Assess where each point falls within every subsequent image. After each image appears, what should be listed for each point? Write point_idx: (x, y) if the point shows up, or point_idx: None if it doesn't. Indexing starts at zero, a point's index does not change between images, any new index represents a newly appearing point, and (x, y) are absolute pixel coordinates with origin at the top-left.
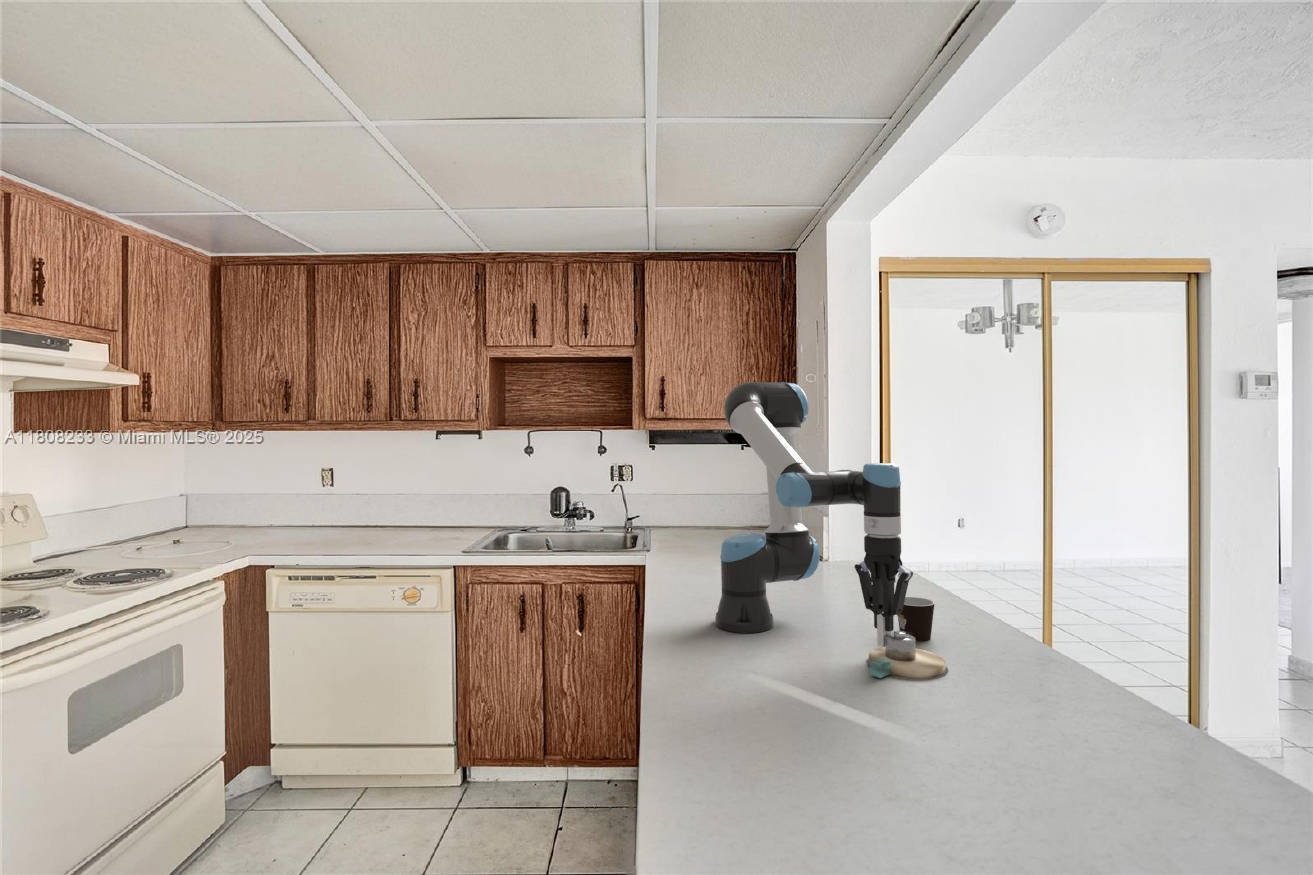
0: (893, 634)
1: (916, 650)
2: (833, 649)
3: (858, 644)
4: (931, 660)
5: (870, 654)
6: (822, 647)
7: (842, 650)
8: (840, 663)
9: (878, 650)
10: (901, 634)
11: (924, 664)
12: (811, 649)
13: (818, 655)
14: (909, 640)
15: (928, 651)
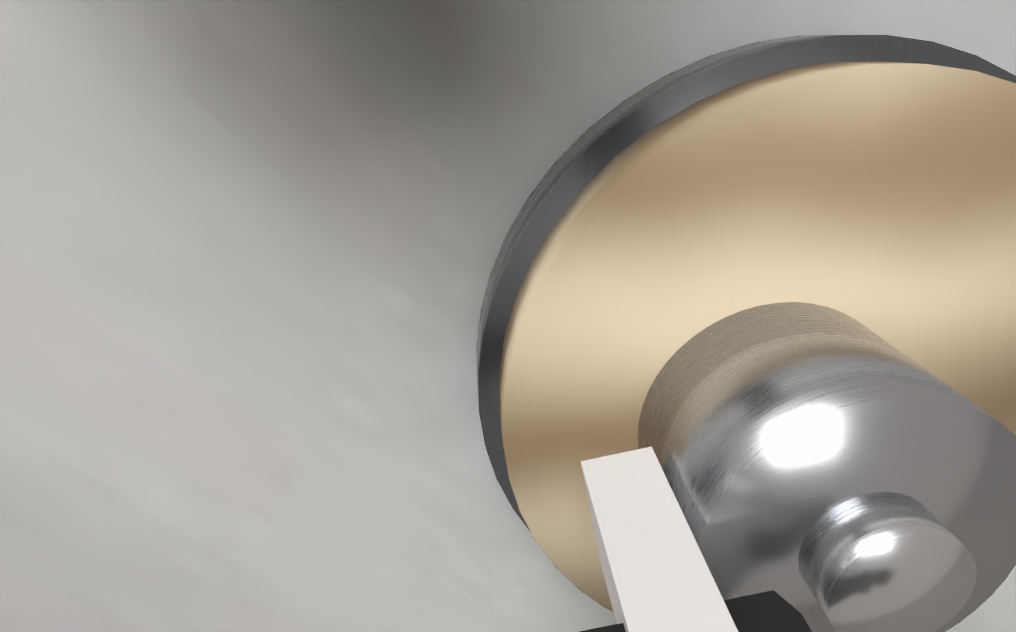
0: (751, 540)
1: (762, 166)
2: (91, 477)
3: (9, 205)
4: (1011, 266)
5: (590, 582)
6: (16, 518)
7: (138, 434)
8: (392, 596)
9: (551, 474)
10: (949, 617)
11: (1011, 393)
12: (44, 602)
13: (190, 626)
14: (997, 534)
15: (863, 69)
